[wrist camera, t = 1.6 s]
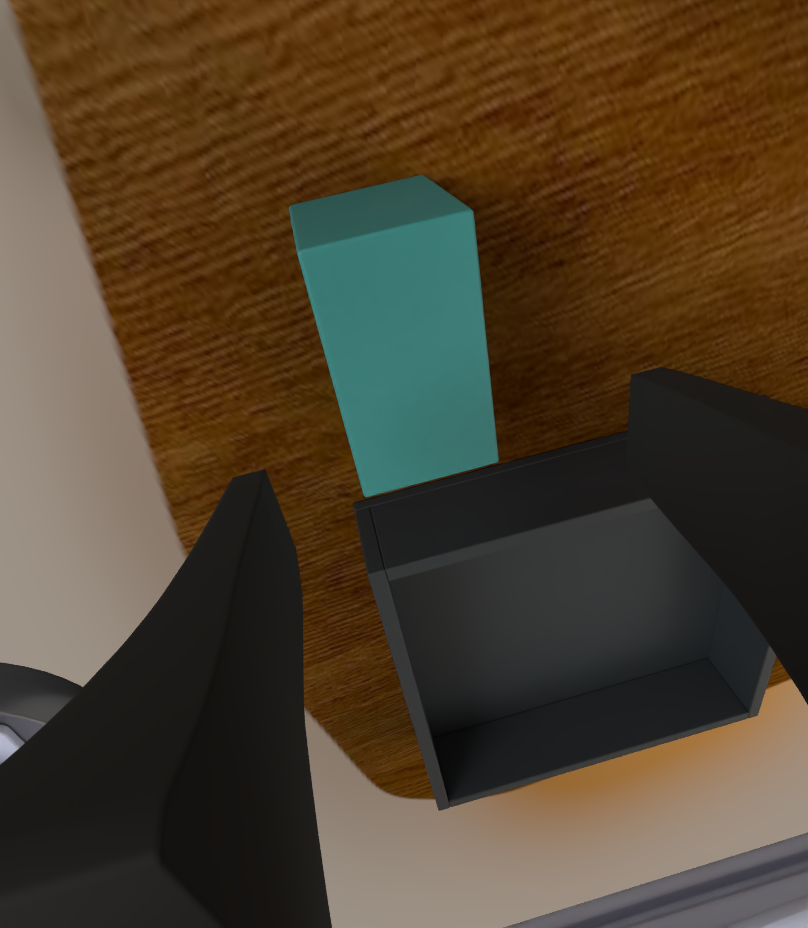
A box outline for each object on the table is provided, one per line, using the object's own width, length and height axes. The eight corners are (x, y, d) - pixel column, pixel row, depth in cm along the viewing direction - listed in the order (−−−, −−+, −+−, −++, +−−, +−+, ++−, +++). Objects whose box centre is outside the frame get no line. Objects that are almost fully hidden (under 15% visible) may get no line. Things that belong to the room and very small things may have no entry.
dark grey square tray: (421, 737, 33) (438, 811, 30) (352, 502, 23) (367, 575, 20) (711, 653, 34) (758, 715, 31) (764, 393, 24) (842, 445, 21)
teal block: (344, 414, 21) (364, 498, 17) (287, 205, 17) (296, 251, 13) (454, 385, 21) (499, 463, 17) (424, 173, 17) (474, 208, 13)
